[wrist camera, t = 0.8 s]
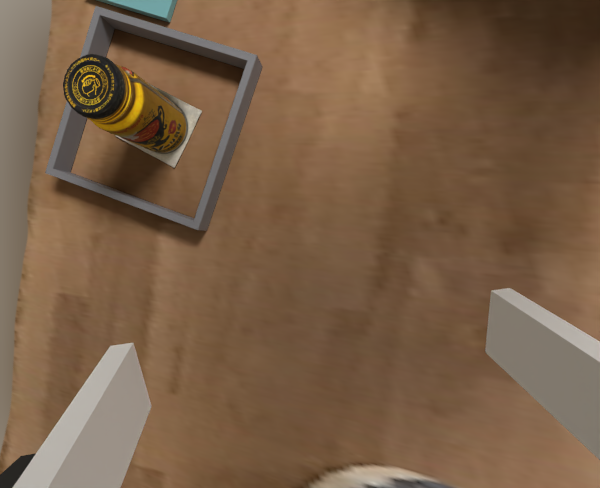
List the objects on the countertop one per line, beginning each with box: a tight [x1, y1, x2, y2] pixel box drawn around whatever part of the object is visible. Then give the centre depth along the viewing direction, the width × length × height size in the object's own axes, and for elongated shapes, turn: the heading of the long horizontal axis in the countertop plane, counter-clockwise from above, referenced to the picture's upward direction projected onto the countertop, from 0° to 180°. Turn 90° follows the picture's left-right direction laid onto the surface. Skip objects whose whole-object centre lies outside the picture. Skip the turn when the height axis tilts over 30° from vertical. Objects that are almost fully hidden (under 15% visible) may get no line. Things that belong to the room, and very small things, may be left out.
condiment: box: [63, 54, 202, 168], centre depth 34 cm, size 7×8×12 cm
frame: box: [45, 6, 262, 231], centre depth 39 cm, size 20×20×2 cm
